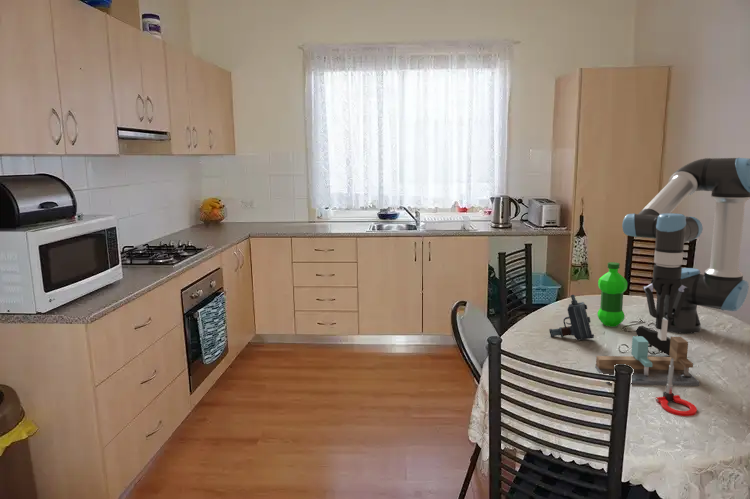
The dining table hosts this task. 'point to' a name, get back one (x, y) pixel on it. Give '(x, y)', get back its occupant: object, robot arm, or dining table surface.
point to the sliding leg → (641, 352)
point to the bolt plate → (656, 377)
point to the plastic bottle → (612, 296)
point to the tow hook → (674, 397)
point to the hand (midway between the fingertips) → (661, 338)
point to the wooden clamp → (653, 359)
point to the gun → (575, 322)
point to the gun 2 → (654, 339)
